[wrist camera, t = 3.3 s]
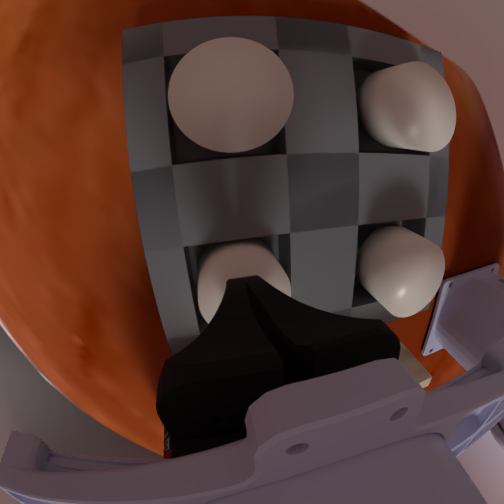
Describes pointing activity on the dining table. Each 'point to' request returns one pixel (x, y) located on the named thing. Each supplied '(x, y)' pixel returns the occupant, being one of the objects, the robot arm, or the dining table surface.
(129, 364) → the dining table surface
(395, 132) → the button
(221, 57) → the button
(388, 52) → the button board
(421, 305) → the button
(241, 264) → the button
